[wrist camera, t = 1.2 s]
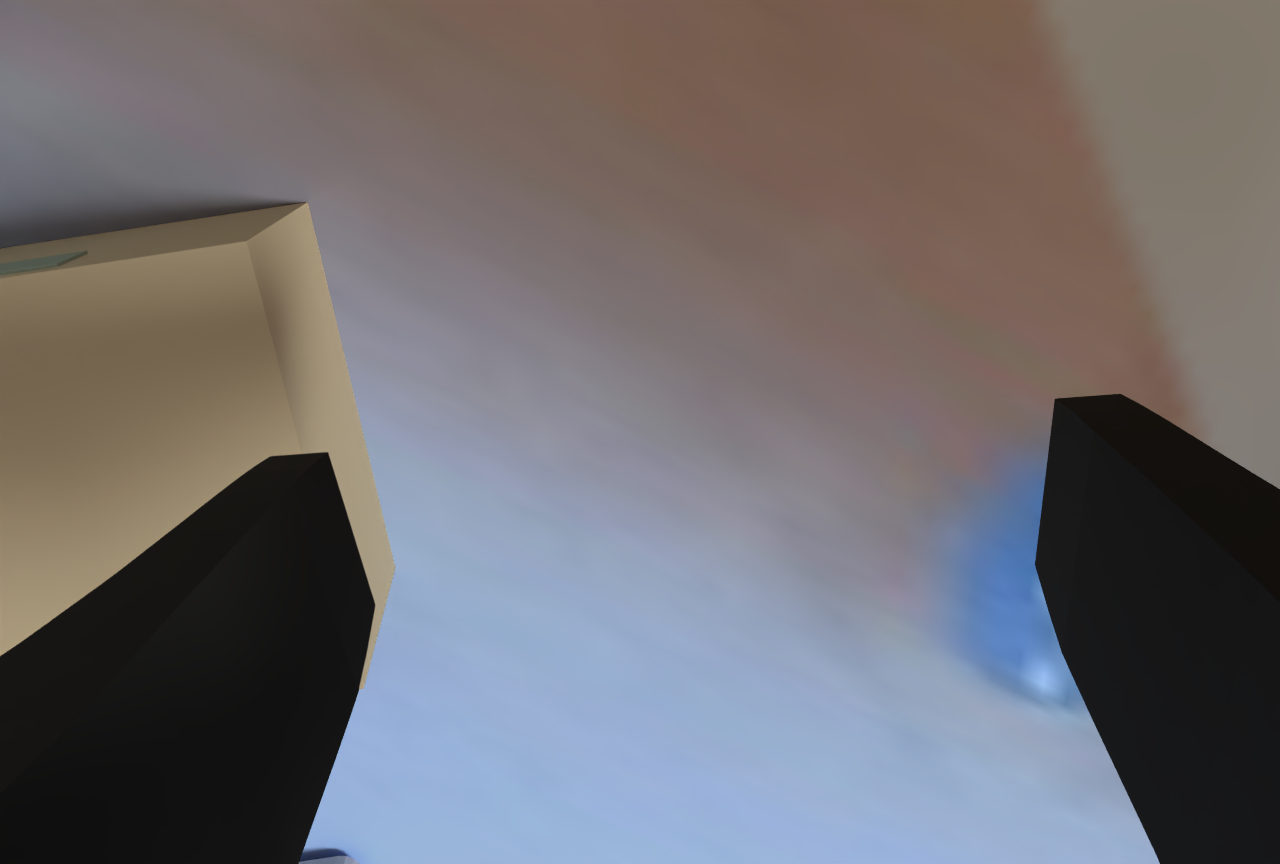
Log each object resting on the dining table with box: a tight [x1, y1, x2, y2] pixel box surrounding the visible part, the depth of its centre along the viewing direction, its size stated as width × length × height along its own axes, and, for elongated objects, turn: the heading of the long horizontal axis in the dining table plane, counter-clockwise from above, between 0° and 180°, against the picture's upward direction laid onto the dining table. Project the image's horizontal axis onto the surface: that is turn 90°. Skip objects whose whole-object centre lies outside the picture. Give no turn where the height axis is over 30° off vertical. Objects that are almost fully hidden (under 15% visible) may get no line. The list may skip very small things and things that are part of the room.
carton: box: [0, 202, 395, 689], centre depth 20 cm, size 8×8×5 cm
